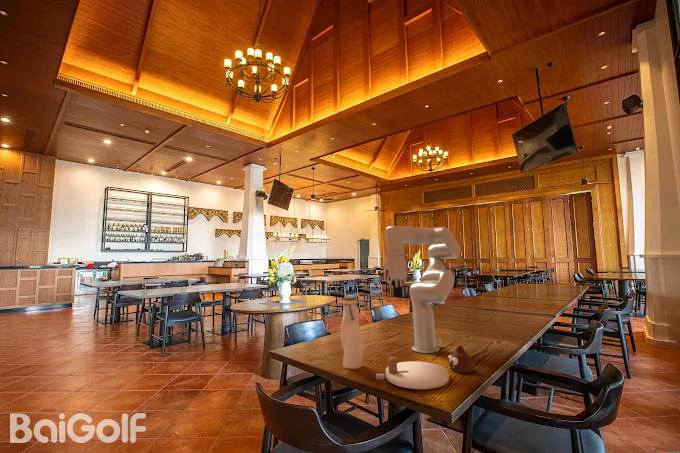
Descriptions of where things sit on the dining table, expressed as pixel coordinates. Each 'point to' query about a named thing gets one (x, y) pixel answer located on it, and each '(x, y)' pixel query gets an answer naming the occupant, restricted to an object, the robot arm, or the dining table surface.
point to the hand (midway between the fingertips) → (397, 296)
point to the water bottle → (351, 334)
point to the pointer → (380, 376)
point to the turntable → (416, 374)
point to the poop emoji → (460, 361)
